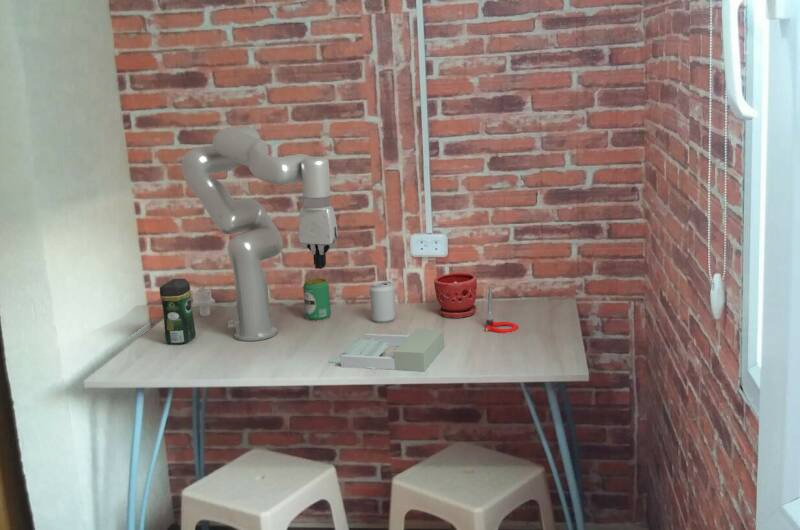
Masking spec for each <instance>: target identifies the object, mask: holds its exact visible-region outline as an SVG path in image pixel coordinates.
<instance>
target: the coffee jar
mask: <svg viewBox="0 0 800 530" xmlns="http://www.w3.org/2000/svg"><path fill="white" fill-rule="evenodd" d="M159 297H160V300H161V305H162V313H163V314H162V315H163V326H164V338H165V342H166V343H167V344H169V345H174V346H175V345H181V344H188V343H189V342H191V341H192V340H193V339H194V338H195V337H196V335H197V334H196V333H197V332H196V327H195V326H196V325H195V321H194V313H193V307H192V300H191V298H192V297H191V287H190V282H189V281H188V280H187V279H186V278H172V279H171V280H169V281H168V282H166V283H164V284H162V285H161V286H159Z"/></svg>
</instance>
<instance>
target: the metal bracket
mask: <svg viewBox="0 0 800 530" xmlns="http://www.w3.org/2000/svg"><path fill="white" fill-rule="evenodd" d="M389 345H390V343H387V342H383V340H381V339H380V340H379V341H375V337H373V338H372V339H371V340H365V338H364V339H363V338H362V337H361V336H359V335H357V337H356V338H355V340H354V341H353V342H352V343H350V344H348V345H347V347H346V348H345V349H344V350H343V351H342V354H341V355H358V356H378V357H381V355H382V354H383V352H384V351H385V350H386V349H388V347H390V346H389ZM327 362H328V363H327V364H330V363H332V364H331V365H336V364H337V365H339V364H340V365H341V357H340V356H335V355H333V356H331V357H330V358H329V359H328V360H327ZM334 363H335V364H334ZM364 368H365V369H364ZM367 369H371V370H370V371H374V370H375V367H363V369H362V370H367ZM372 369H373V370H372Z"/></svg>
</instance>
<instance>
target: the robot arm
mask: <svg viewBox="0 0 800 530" xmlns="http://www.w3.org/2000/svg"><path fill="white" fill-rule="evenodd" d="M213 136H214V137H212V138H213V139H212V145H211V144H210V145H205V146H199V147H195V148H192V149H190V150H188V151H187V152H185V154H184V156H183V158H182V161H181V171H182V176H183V178H184V181H185V183H186V185H187V187H188V188H189V189H190V191H192V192H193V194H194V195H195V196H196V197H197V199H198V200H199V201H200V203H201V205H202V206H203V207H204V209H205V211H206V213H208V216H209V217H210V219H211V220H212V221H213V224H214V225H215V227H217V229H218V230H219V232H220V233H222V234H224V235H231V234H232V235H233V234H235V235H234V236H233V237H231V238H230V240H229V241H228V243H227V244H228V245H227V254H228V258H229V260H230V264H231V267H232V272H233V273H232V274H233V281H234V289H235V291H234V292H235V301H236V309H237V317H238V319H237V320H231V319H230V320H228V322H227V328H228V329H235V331H234V338H235V339H236V340H238V341H243V342H253V341H263V340H267V339H271V338H272V337H274V336H276V335H277V332H278V329H277V328H276V327H275V326H272V321H271V311H270V298H269V286H268V278H267V274H266V272H265V270H264V268H263V266H262V265H261V263H260V262H261V261H265V260H268V259H271V258H274V257H277V256H278V255H279V254H280V253H281V252H282V250H283V247H284V243H283V237H282V235H281V233H280V231H279V230H278V228H277V227H276V225H275V223H274V222H273V221H272V219H271V217H270V215H269V214H268V212H267V211H266V209H265V208H264V206H263V205H262V204H261V203H260V202H258V201H257V200H256V199H254V198H249V197H247V198H246V197H245V198H241V199H235V198H234V197H233V196H232V195H231V193H230V192H229V190H228V189H227V187H226V186H225V185H224V184H223V183H222V182H220V181H219V180H218V179H216V178H214V176H212V175H217V174H221V173H226V172H230V171H234V170H235V169H237V168H238V167H239V166H241V165H243V166H246V167H247V168H248V170H250V172H251V174H252V175H253V176H254V177H255V178H257V179H258V180H261V181H263V182H265V183H268V184H270V185H275V186H284V185H285V186H286V185H289V184H294V183H300V182H301V187H302V189H301V191H302V197H299V198H298V203H300V204H302V207H300V209H299V215H298V231H297V232H298V242H300V246H301V247H304V248H306V249H308V250H309V251H310V252H311V254H312V255H313V265H314V268H315V269H316V270H317V269H318V270H322V269H324V268H325V267H326V265H327V255H326V254H327V253H328V251H329V250H331V249H335V248H337V247H338V246H339V245H338V237H339V236H338V225H337V218H336V213H335V210H334V209H335V208H334V207H333V206H332V203H331V202H332V201H331V200H332V199H331V181H330V162H329V159H328V158H326V157H325V156H316V155H315V156H311V155H308V154H305V153H297V154H290V155H285V156H279V157H276V156H271V155H269V146H268V144H267V142H266V141H264V139H261V136H260V134H259V132H258V131H257V130H256V129H255V128H254V127H252V126H249V125H242V126H234V127H226V128H223V129H221V130H219V131H217V132H216V133H215V134H214V135H213ZM236 233H237V234H236Z"/></svg>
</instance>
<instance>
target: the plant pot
mask: <svg viewBox="0 0 800 530" xmlns="http://www.w3.org/2000/svg"><path fill="white" fill-rule="evenodd" d="M433 284H434V285H433V286H434V291H435V297H436V300H437V303H438V305H439V306H440V308H439V313H440V314H441V316H444V317H446V318H452V319H460V318H465V317H469V316H472V315H474V314H475V313H476V312H477V310H478V308H477V305H476V304H475V303H476V299H477V291H478V290H477V288H478V281H477V275H474V274H473V273H469V272H454V273H447V274H442V275H439V276H437V277H435V278H434V281H433Z"/></svg>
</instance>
